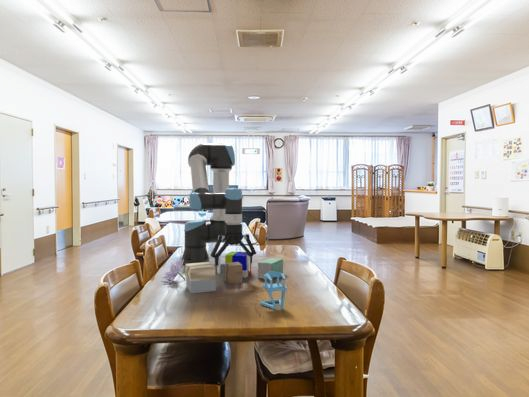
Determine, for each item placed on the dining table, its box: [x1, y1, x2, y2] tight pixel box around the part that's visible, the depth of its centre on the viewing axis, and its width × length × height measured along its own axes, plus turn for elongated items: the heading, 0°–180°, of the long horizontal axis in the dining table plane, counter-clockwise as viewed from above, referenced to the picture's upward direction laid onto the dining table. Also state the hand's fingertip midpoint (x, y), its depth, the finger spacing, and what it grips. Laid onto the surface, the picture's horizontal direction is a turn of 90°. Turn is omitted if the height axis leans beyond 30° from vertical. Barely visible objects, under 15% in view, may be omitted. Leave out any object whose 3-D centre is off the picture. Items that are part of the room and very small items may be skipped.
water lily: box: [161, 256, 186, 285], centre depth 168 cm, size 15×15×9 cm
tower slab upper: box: [184, 261, 216, 281], centre depth 155 cm, size 10×10×5 cm
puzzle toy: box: [224, 251, 252, 278], centre depth 180 cm, size 10×10×10 cm
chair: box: [259, 271, 288, 311], centre depth 133 cm, size 8×8×12 cm
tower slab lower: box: [185, 276, 217, 294], centre depth 155 cm, size 10×10×5 cm
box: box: [257, 257, 284, 280], centre depth 177 cm, size 7×14×8 cm, turn 155°
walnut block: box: [224, 262, 243, 285], centre depth 166 cm, size 6×6×8 cm
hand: (233, 271), depth 166 cm, fingers open, 13 cm apart
